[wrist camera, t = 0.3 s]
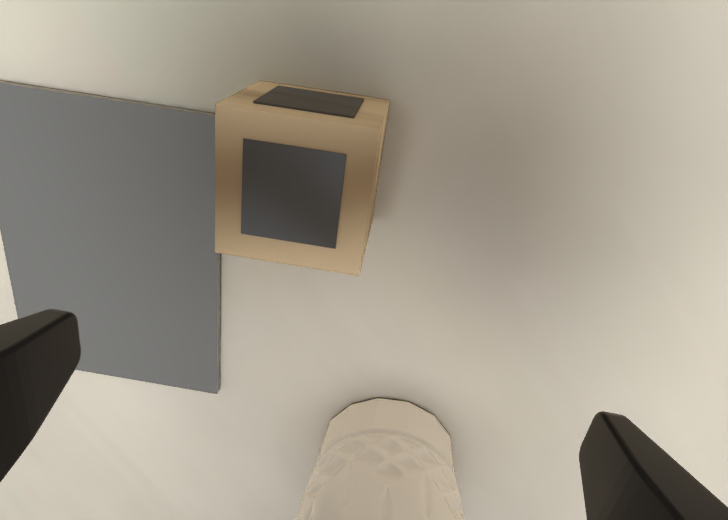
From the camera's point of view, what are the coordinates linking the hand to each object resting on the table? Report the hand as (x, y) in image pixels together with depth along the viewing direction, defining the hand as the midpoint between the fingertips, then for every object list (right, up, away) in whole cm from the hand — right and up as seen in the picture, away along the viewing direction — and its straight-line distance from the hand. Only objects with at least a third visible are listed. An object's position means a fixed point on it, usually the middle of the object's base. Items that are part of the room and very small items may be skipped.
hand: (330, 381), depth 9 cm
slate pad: (-11, +2, +15) cm, 19 cm away
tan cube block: (-1, +6, +12) cm, 14 cm away
